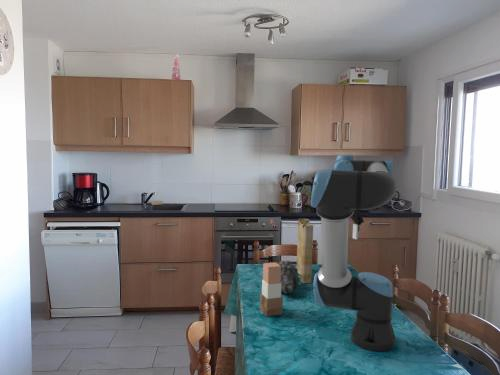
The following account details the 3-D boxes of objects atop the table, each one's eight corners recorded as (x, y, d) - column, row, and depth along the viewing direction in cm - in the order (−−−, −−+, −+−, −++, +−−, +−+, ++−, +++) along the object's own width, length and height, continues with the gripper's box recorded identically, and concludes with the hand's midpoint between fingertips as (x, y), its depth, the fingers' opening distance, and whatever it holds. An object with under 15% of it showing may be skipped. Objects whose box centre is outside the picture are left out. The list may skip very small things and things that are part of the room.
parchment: (295, 269, 215) (297, 217, 212) (306, 270, 215) (308, 218, 212) (299, 283, 192) (301, 225, 189) (311, 284, 191) (313, 225, 189)
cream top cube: (281, 297, 154) (281, 283, 153) (267, 299, 151) (267, 284, 151) (274, 292, 159) (275, 278, 159) (261, 293, 157) (262, 279, 156)
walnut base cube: (282, 314, 154) (282, 297, 153) (266, 316, 152) (267, 299, 151) (275, 307, 161) (275, 291, 160) (260, 309, 158) (260, 293, 157)
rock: (268, 309, 175) (297, 302, 170) (254, 280, 174) (284, 272, 168) (278, 286, 195) (305, 279, 190) (266, 260, 194) (293, 252, 188)
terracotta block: (280, 282, 153) (280, 266, 153) (268, 284, 151) (268, 267, 151) (275, 278, 158) (275, 262, 158) (262, 279, 157) (263, 263, 156)
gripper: (362, 189, 169) (360, 236, 171) (314, 190, 161) (312, 239, 162) (373, 191, 163) (371, 239, 164) (323, 192, 154) (321, 243, 155)
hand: (341, 239), depth 163 cm, fingers open, 13 cm apart
